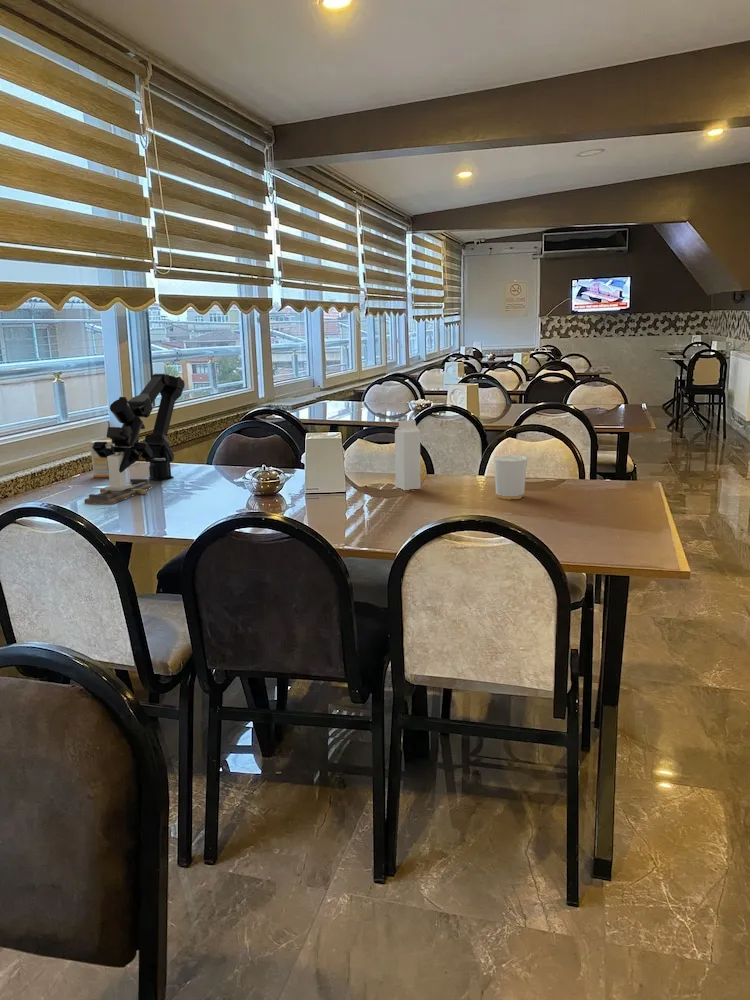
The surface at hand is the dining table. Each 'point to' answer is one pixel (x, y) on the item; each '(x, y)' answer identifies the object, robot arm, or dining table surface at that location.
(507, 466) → the candle holder
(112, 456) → the white upright block
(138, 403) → the robot arm
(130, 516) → the dining table surface
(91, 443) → the supplement box
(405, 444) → the milk
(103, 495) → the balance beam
